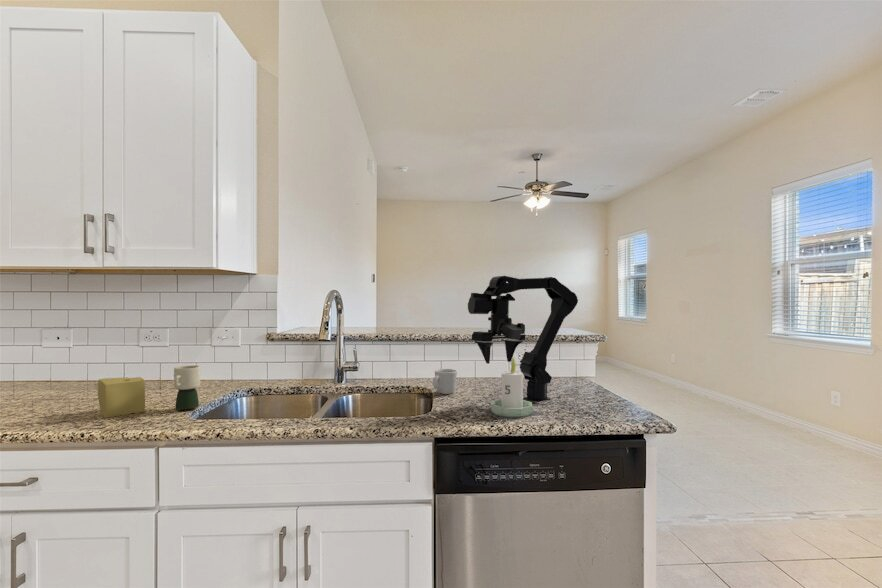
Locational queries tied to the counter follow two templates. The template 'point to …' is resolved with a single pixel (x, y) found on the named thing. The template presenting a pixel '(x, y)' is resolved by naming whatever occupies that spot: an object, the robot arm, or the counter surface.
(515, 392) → the candle
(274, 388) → the counter surface
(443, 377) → the cup
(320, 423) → the counter surface
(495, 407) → the dish
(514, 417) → the mat
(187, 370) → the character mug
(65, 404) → the counter surface
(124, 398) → the cheese
